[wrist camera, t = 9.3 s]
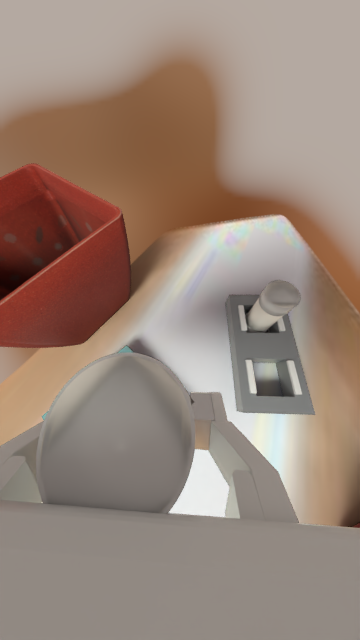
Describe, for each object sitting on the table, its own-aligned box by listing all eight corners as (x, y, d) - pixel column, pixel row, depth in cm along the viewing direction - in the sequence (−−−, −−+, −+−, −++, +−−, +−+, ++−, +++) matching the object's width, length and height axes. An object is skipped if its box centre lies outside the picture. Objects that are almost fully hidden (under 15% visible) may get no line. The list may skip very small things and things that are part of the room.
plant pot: (76, 374, 27) (-64, 346, 12) (17, 312, 33) (-129, 238, 18) (154, 295, 33) (126, 210, 18) (93, 254, 39) (32, 160, 24)
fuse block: (300, 412, 24) (317, 415, 21) (236, 410, 24) (244, 412, 21) (274, 303, 31) (283, 293, 28) (225, 303, 32) (229, 293, 29)
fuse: (270, 325, 30) (307, 293, 21) (256, 341, 29) (288, 315, 19) (250, 310, 31) (277, 274, 22) (236, 325, 30) (258, 294, 21)
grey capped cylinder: (203, 410, 13) (229, 437, 4) (163, 454, 12) (85, 614, 3) (168, 370, 15) (133, 327, 6) (130, 406, 14) (12, 424, 5)
